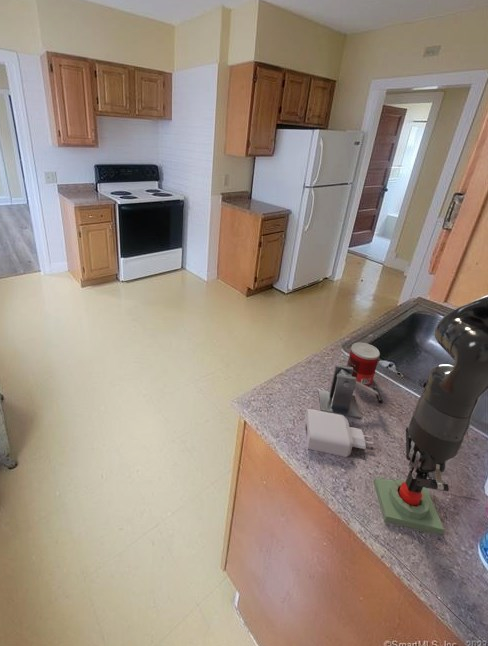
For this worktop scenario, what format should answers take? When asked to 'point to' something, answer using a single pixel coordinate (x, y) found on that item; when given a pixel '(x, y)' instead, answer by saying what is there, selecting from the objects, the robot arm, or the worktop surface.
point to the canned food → (363, 362)
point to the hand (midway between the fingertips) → (412, 488)
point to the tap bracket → (340, 395)
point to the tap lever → (365, 387)
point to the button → (409, 495)
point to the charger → (332, 433)
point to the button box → (407, 508)
